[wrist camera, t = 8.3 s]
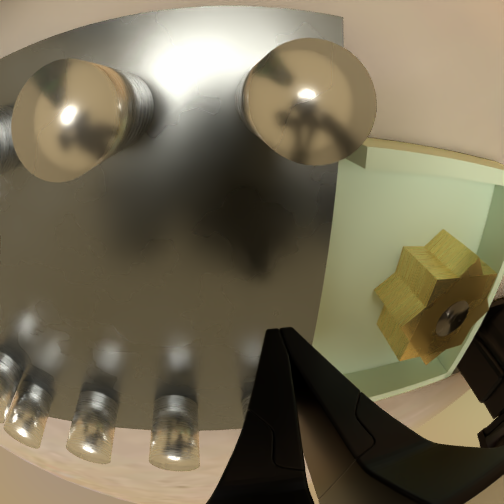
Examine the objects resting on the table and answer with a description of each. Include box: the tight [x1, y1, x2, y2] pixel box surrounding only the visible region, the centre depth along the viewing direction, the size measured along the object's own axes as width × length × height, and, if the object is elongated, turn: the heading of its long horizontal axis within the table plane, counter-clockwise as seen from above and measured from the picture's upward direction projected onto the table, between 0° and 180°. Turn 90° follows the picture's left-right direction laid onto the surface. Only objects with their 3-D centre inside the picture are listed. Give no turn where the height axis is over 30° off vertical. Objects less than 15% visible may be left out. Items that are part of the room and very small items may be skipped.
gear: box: [374, 229, 497, 365], centre depth 11 cm, size 6×6×2 cm
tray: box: [312, 138, 504, 402], centre depth 11 cm, size 9×12×2 cm
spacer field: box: [0, 6, 377, 471], centre depth 9 cm, size 18×20×4 cm
